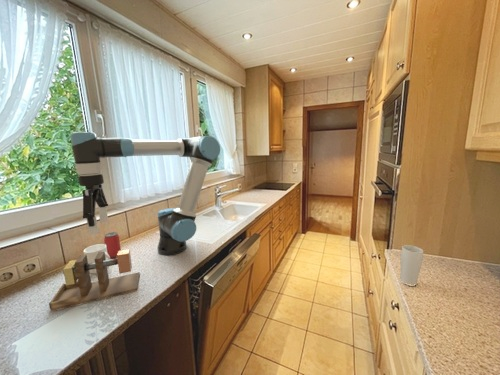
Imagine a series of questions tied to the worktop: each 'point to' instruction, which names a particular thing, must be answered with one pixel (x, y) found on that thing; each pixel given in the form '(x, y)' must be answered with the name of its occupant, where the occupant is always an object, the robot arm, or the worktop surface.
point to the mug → (95, 254)
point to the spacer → (70, 273)
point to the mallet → (114, 262)
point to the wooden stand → (93, 285)
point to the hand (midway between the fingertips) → (99, 227)
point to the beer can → (112, 244)
